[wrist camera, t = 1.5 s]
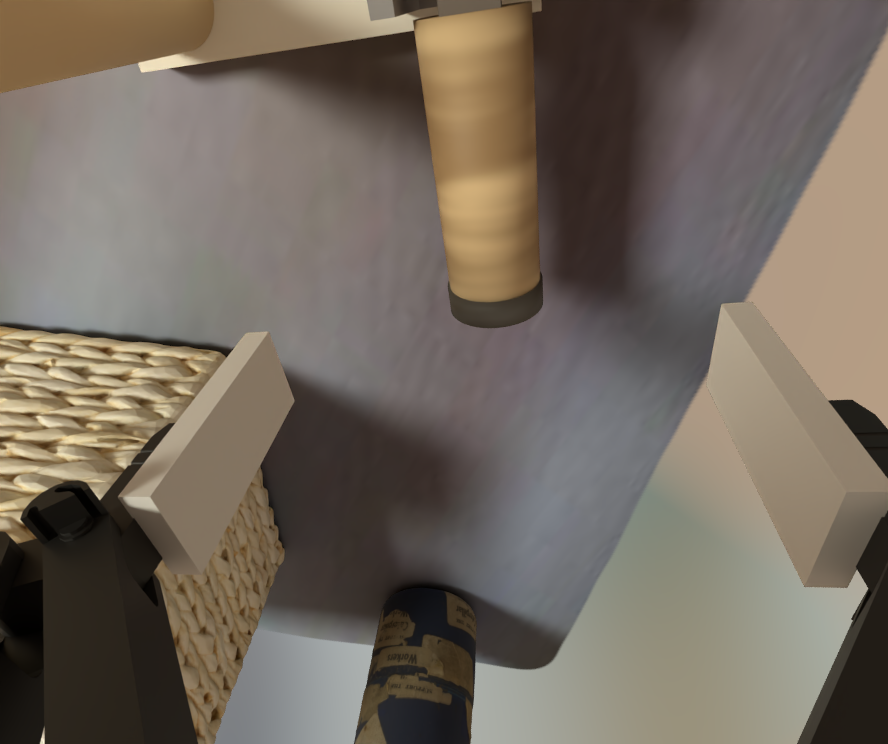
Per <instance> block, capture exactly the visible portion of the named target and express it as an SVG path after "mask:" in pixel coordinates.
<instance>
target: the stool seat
mask: <svg viewBox="0 0 888 744" xmlns="http://www.w3.org/2000/svg"><path fill="white" fill-rule="evenodd" d="M525 1H532V12H538V11H542V3H541V0H502V4H508V3H516V2H525ZM434 15H439V13H438V4H437V0H0V93H3V92H8V91H12V90H17V89H21V88H26V87H31V86H35V85H40V84H44V83H49V82H53V81H58V80H62V79H67V78H71V77H76V76H80V75H85V74H89V73H94V72H99V71H103V70H108V69H112V68H117V67H121V66H126V65H130V64H135V63H138V64H139V67H140V69H141V72H149V71H155V70H162V69H168V68H175V67H181V66H188V65H194V64H201V63H207V62H213V61H220V60H226V59H233V58H239V57H246V56H252V55H259V54H265V53H272V52H278V51H285V50H291V49H298V48H304V47H311V46H317V45H324V44H330V43H337V42H343V41H350V40H356V39H363V38H369V37H376V36H382V35H389V34H395V33H401V32H408V31H414V25H413V20H415V19H419V18H424V17H428V16H434Z"/></svg>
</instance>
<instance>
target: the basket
mask: <svg viewBox="0 0 888 744" xmlns="http://www.w3.org/2000/svg"><path fill="white" fill-rule="evenodd" d="M225 359H226V357H225V355H223V354H222V353H221V352H217V351H212V350H203V349H194V348H191V347H185V346H182V347H174V346H166V345H162V344H156V343H149V342H125V341H118V340H114V339H107V338H89V337H85V336H81V335H76V334H67V333H61V334H53V333H49V332H45V331H35V330H29V331H24V330H21V329H15V328H8V327H2V326H0V531H3V532H6V533H7V534H8V535H9V536H10V537H11V538H12V539H13V540H14V541H15V542H16V543H17V544H18V543H22V542H25V541H29V540H33V539H37V538H36V537H35V536H34V535H33V533H32V532H31V531H30V530H29V529H28V528H27V527H26V526H25V525H24V523H23V522H22V521H21V520H20V518H21V515H22V512H23V510H24V509H25V508H26V507H27V506H28V504H29V503H30V502H31V501H32V500H33V499H35V498H36V497H37V496H38V495H40V494H41V493H42V492H44V491H46V490H48V489H49V488H51V487H53V486H55V485H58V484H61V483H64V482H67V481H74V480H80V481H83V482H86V483H87V484H88V485H89V487H90V488H91V489H92V491H93V492H94V493H95V495H96V496H97V497H98V499H99V500H101V498H102V497H103V496H104V495H105V493H106V492H107V491H108V490H109V488H110V487H111V486H112V485H113V484H114V482H115V481H116V480H117V479H118V477H119V476H120V475H121V474H122V473H123V471H124V470H125V469H126V468H127V466H128V465H131V461H132V460H133V459H134V458H135V457H136V455H137V454H138V453H141V451H140V450H141V449H142V448H143V447H144V445H145V444H146V443H147V442H148V441H149V439H150V438H151V437H152V436H153V435H154V434H156V433H157V432H158V431H160V430H161V429H162V428H163V427H165V426H166V425H167V424H169V423H176V422H177V420H178V419H179V418H180V417H181V415H182V414H183V413H184V411H185V410H186V409H187V408H188V406H189V405H190V404H191V403H192V401H193V400H194V399H195V397H196V396H197V395H198V394H199V392H200V391H201V390H202V389H203V387H204V386H205V385H206V383H207V382H208V381H209V380H210V378H211V377H212V376H213V375H214V373H215V372H216V371H217V369H218V368H219V367H220V366H221V364H222V363H223V362H224V360H225ZM268 505H269V500H268V491H267V489H266V488H264V487H263V473H262V470H261V467H259V469H258V471H257V472H256V474H255V476H254V478H253V480H252V482H251V484H250V485H249V487H248V489H247V491H246V493H245V495H244V497H243V499H242V500H241V502H240V504H239V506H238V508H237V510H236V512H235V513H234V515H233V517H232V519H231V521H230V523H229V525H228V527H227V528H226V530H225V532H224V534H223V536H222V538H221V540H220V542H219V543H218V545H217V547H216V549H215V551H214V553H213V555H212V556H211V558H210V560H209V562H208V564H207V566H206V568H205V570H204V571H203V573H202V575H183V574H172V573H171V571H170V570H169V568H168V567H167V566H166V564H165V563H164V561H163V560H161V562H160V563H159V565H158V567H157V568H156V570H155V571H154V574H155V575H156V576H157V578H158V580H159V581H160V585H161V589H162V593H163V597H164V602H165V606H166V610H167V614H168V618H169V623H170V627H171V631H172V635H173V640H174V644H175V648H176V652H177V656H178V661H179V665H180V669H181V673H182V677H183V682H184V686H185V690H186V694H187V698H188V703H189V707H190V711H191V715H192V720H193V724H194V728H195V732H196V736H197V741H198V744H214V743H215V739H216V736H215V735H216V733H217V731H218V729H219V727H220V724H221V718H222V716H223V714H224V713H225V709H226V703H227V702H228V701H229V698H230V696H231V691H232V689H233V687H234V686H235V684H236V681H237V678H238V675H239V673H240V671H241V669H242V665H243V658H244V657H245V655H246V653H247V651H248V647H249V645H250V643H251V639H252V636H253V634H254V632H255V630H256V628H257V626H258V621H259V619H260V617H261V613H262V609H263V608H264V605H265V602H266V600H267V596H268V594H269V591H270V587H271V586H272V584H273V582H274V579H275V574H276V572H277V570H278V567H279V565H281V564H282V562H283V561H284V556H285V550H284V548H282V543H281V542H280V541H279V540H278V527H277V526H276V525H274V512H273V509H272V508H271V507H269V506H268ZM40 744H45V735H44V730H43V734H42V738H41V742H40Z"/></svg>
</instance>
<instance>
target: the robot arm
mask: <svg viewBox="0 0 888 744" xmlns="http://www.w3.org/2000/svg"><path fill="white" fill-rule="evenodd" d="M706 386H707V388H708V390H709V392H710V394H711V396H712V398H713V400H714V403H715V405H716V406H717V409H718V411H719V413H720V415H721V417H722V419H723V421H724V423H725V425H726V427H727V429H728V431H729V433H730V435H731V437H732V439H733V442H734V443H735V445H736V448H737V450H738V452H739V454H740V456H741V458H742V460H743V462H744V464H745V466H746V468H747V470H748V472H749V474H750V476H751V478H752V481H753V483H754V485H755V487H756V489H757V491H758V493H759V495H760V497H761V499H762V501H763V503H764V505H765V507H766V509H767V511H768V513H769V515H770V517H771V519H772V522H773V524H774V526H775V528H776V530H777V532H778V534H779V536H780V538H781V540H782V542H783V544H784V546H785V548H786V550H787V552H788V554H789V556H790V559H791V561H792V563H793V565H794V567H795V569H796V571H797V573H798V575H799V577H800V579H801V581H802V583H803V585H804V587H837V588H839V587H840V588H847V587H848V585H849V583H850V582H851V580H852V578H853V576H854V574H855V572H856V570H858V572H859V573H860V575H861V576H862V578H863V580H864V582H865V583H866V585H867V587H868V590H867V592H866V594H865V595H864V597H863V599H862V601H861V603H860V604H859V606H858V608H857V610H856V612H855V613H854V615H853V617H852V620H853V622H852V624H851V626H850V628H849V630H848V633H847V635H846V637H845V639H844V641H843V644H842V646H841V648H840V650H839V652H838V655H837V657H836V659H835V661H834V664H833V666H832V668H831V670H830V672H829V674H828V677H827V679H826V681H825V683H824V685H823V688H822V690H821V692H820V694H819V697H818V699H817V701H816V703H815V705H814V708H813V710H812V712H811V714H810V716H809V719H808V721H807V723H806V725H805V727H804V730H803V732H802V734H801V736H800V738H799V741H798V743H797V744H888V429H887V428H886V427H885V426H884V425H883V423H882V422H881V421H880V420H879V418H878V417H877V416H876V415H875V414H873V413H872V412H870V411H869V410H867V409H866V408H864V407H862V406H861V405H859V404H858V403H856V402H854V401H853V400H834V401H833V400H831V401H828V400H827V399H826V398H825V396H824V395H823V394H822V392H821V391H820V390H819V388H818V387H817V386H816V385H815V383H814V382H813V381H812V379H811V378H810V377H809V375H808V374H807V373H806V371H805V370H804V369H803V367H802V366H801V365H800V364H799V362H798V361H797V360H796V358H795V357H794V356H793V354H792V353H791V352H790V351H789V349H788V348H787V347H786V345H785V344H784V343H783V341H782V340H781V339H780V337H779V336H778V335H777V334H776V332H775V331H774V330H773V328H772V327H771V326H770V325H769V323H768V322H767V320H766V319H765V318H764V317H763V315H762V314H761V313H760V311H759V310H758V309H757V307H756V306H755V305H754V304H753V302H742V303H726V304H721V309H720V315H719V320H718V325H717V330H716V336H715V341H714V346H713V351H712V357H711V362H710V367H709V372H708V378H707V383H706ZM294 401H295V400H294V397H293V395H292V392H291V389H290V387H289V384H288V381H287V379H286V376H285V373H284V371H283V368H282V365H281V363H280V360H279V357H278V355H277V352H276V349H275V347H274V344H273V341H272V339H271V336H270V333H269V332H254V333H246V334H245V335H244V336H243V338H242V339H241V340H240V341H239V343H238V344H237V345H236V346H235V348H234V349H233V350H232V352H231V353H230V354H229V355H228V357H227V358H226V359H225V360H224V362H223V363H222V364H221V366H220V367H219V368H218V369H217V371H216V372H215V373H214V375H213V376H212V377H211V378H210V380H209V381H208V382H207V383H206V385H205V386H204V387H203V389H202V390H201V391H200V392H199V394H198V395H197V396H196V397H195V399H194V400H193V401H192V403H191V404H190V405H189V406H188V408H187V409H186V410H185V411H184V413H183V414H182V415H181V417H180V418H179V419H178V420H177V422H176V423H169V424H167V425H166V426H165V427H163V428H162V429H161V430H160V431H158V432H157V433H156V434H154V435H153V436H152V437H151V438H150V439H149V441H148V442H147V443H146V444H145V445H144V447H143V448H142V449H141V450H140V451H141V453H138V454H137V455H136V457H135V458H134V459H133V460H132V461H131V465H128V466H127V468H126V469H125V470H124V471H123V473H122V474H121V475H120V476H119V477H118V479H117V480H116V481H115V482H114V484H113V485H112V486H111V487H110V488H109V490H108V491H107V492H106V493H105V495H104V496H103V497H102V498H101V500H99V499H98V497H97V496H96V495H95V493H94V492H93V491H92V489H91V488H90V487H89V485H88V484H87V483H86V482H83V481H80V480H74V481H67V482H64V483H61V484H58V485H55V486H53V487H51V488H49V489H48V490H46V491H44V492H42V493H41V494H40V495H38V496H37V497H36V498H35V499H33V500H32V501H31V502H30V503H29V504H28V506H27V507H26V508H25V509H24V510H23V512H22V515H21V518H20V520H21V521H22V522H23V523H24V525H25V526H26V527H27V528H28V529H29V530H30V531H31V532H32V533H33V535H34V536H35V537H36V538H37V539H33V540H29V541H25V542H22V543H18V544H17V543H16V542H15V541H14V540H13V539H12V538H11V537H10V536H9V535H8V534H7V533H6V532H3V531H0V744H40V742H41V738H42V734H43V730H44V735H45V744H198V741H197V736H196V732H195V728H194V724H193V720H192V715H191V711H190V707H189V703H188V698H187V694H186V690H185V686H184V682H183V677H182V673H181V669H180V665H179V661H178V656H177V652H176V648H175V644H174V640H173V635H172V631H171V627H170V623H169V618H168V614H167V610H166V606H165V602H164V597H163V593H162V589H161V585H160V581H159V580H158V578H157V576H156V575H155V574H154V571H155V570H156V568H157V567H158V565H159V563H160V562H161V560H163V561H164V563H165V564H166V566H167V567H168V568H169V570H170V571H171V573H172V574H183V575H202V573H203V571H204V570H205V568H206V566H207V564H208V562H209V560H210V558H211V556H212V555H213V553H214V551H215V549H216V547H217V545H218V543H219V542H220V540H221V538H222V536H223V534H224V532H225V530H226V528H227V527H228V525H229V523H230V521H231V519H232V517H233V515H234V513H235V512H236V510H237V508H238V506H239V504H240V502H241V500H242V499H243V497H244V495H245V493H246V491H247V489H248V487H249V485H250V484H251V482H252V480H253V478H254V476H255V474H256V472H257V471H258V469H259V467H260V465H261V463H262V461H263V459H264V457H265V456H266V454H267V452H268V450H269V448H270V446H271V444H272V442H273V441H274V439H275V437H276V435H277V433H278V431H279V429H280V428H281V426H282V424H283V422H284V420H285V418H286V416H287V414H288V413H289V411H290V409H291V407H292V405H293V403H294Z"/></svg>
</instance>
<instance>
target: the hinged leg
mask: <svg viewBox="0 0 888 744" xmlns="http://www.w3.org/2000/svg"><path fill="white" fill-rule="evenodd" d="M437 4H438V13H439V15H434V16H428V17H424V18H419V19H415V20H413V25H414V33H415V40H416V47H417V54H418V61H419V68H420V75H421V83H422V90H423V97H424V104H425V111H426V118H427V125H428V132H429V140H430V147H431V154H432V161H433V168H434V175H435V182H436V190H437V197H438V204H439V211H440V218H441V225H442V232H443V239H444V247H445V254H446V261H447V268H448V275H449V282H448V291H449V298H450V305H451V311H452V314H453V316H454V317H455V318H456V319H457V320H458V321H460V322H462V323H464V324H467V325H470V326H474V327H480V328H500V327H507V326H511V325H515V324H519V323H521V322H524V321H526V320H528V319H530V318H531V317H533V316H534V315H536V314H537V313H538V312H539V311H540V309H541V308H542V305H543V282H542V274H541V272H540V259H539V225H538V191H537V157H536V124H535V90H534V56H533V22H532V1H525V2H516V3H508V4H502V0H437Z"/></svg>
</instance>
